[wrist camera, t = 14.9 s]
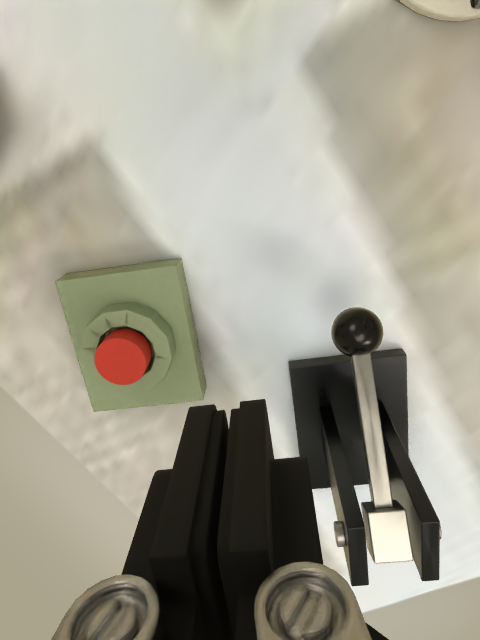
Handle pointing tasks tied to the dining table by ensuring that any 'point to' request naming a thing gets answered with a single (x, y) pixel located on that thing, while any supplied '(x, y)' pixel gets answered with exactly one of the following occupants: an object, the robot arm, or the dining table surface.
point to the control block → (143, 317)
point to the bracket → (361, 452)
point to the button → (123, 357)
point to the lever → (372, 438)
